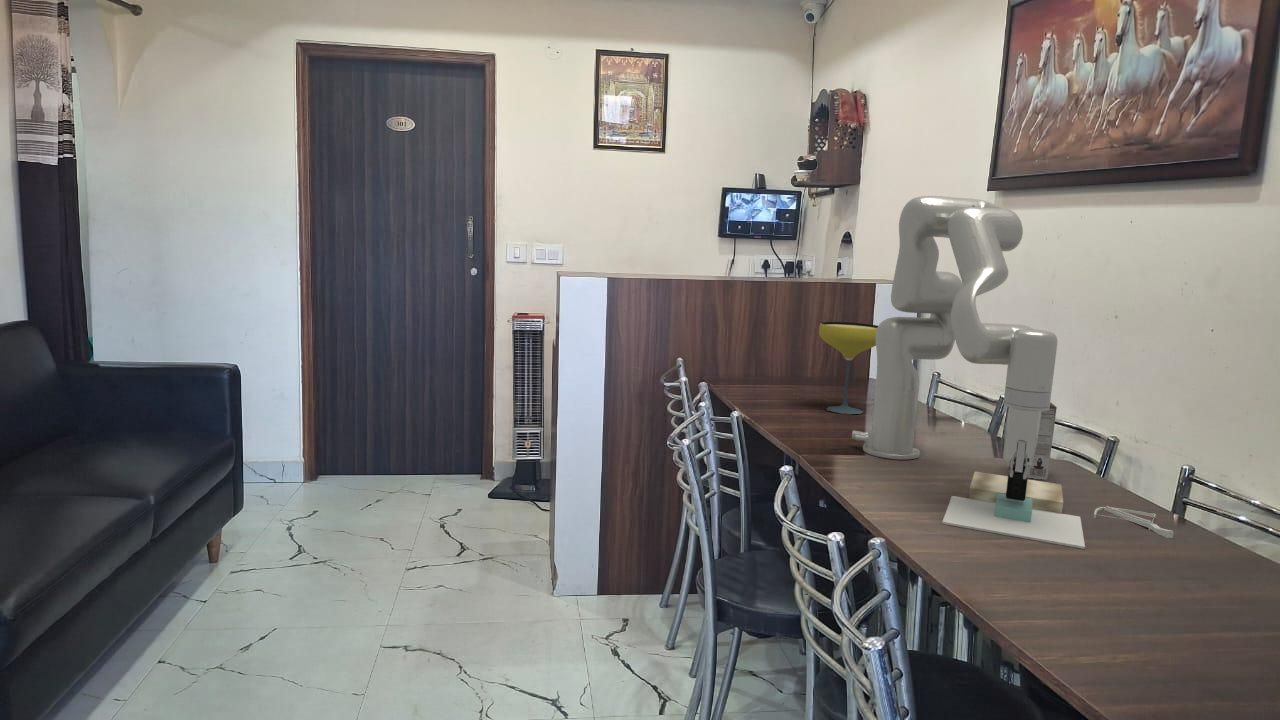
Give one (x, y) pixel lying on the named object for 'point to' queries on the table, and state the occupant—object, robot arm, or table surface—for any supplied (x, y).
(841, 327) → the cocktail glass
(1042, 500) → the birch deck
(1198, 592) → the table surface
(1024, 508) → the teal tile
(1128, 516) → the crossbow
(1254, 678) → the table surface
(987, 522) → the white mat
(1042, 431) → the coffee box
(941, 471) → the table surface
